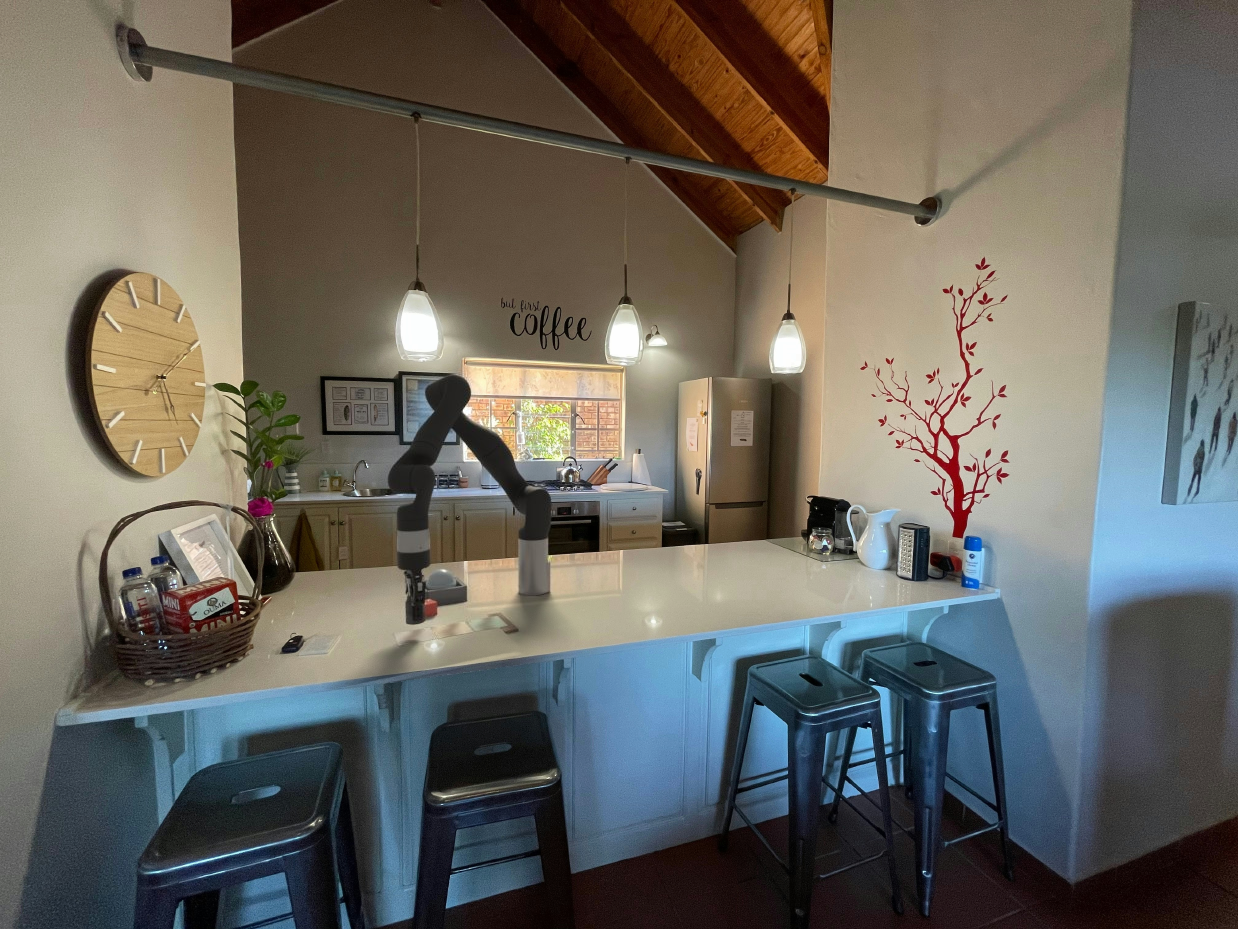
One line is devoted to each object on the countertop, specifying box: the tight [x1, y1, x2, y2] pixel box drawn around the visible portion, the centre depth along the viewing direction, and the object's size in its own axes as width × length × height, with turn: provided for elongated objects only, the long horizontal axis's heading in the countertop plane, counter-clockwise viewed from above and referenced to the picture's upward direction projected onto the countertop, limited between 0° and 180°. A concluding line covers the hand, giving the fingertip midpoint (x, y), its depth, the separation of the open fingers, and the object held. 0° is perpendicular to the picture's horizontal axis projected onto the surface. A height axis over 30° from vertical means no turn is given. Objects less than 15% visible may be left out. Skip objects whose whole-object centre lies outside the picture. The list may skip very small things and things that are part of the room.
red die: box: [425, 599, 438, 618], centre depth 148 cm, size 4×4×4 cm
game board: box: [392, 611, 520, 646], centre depth 137 cm, size 30×14×1 cm, turn 121°
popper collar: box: [425, 576, 468, 607], centre depth 164 cm, size 12×12×4 cm
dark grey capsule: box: [404, 596, 426, 626], centre depth 132 cm, size 4×4×7 cm
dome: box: [426, 568, 456, 591], centre depth 164 cm, size 9×9×8 cm
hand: (415, 616), depth 132 cm, fingers closed on dark grey capsule, 4 cm apart
